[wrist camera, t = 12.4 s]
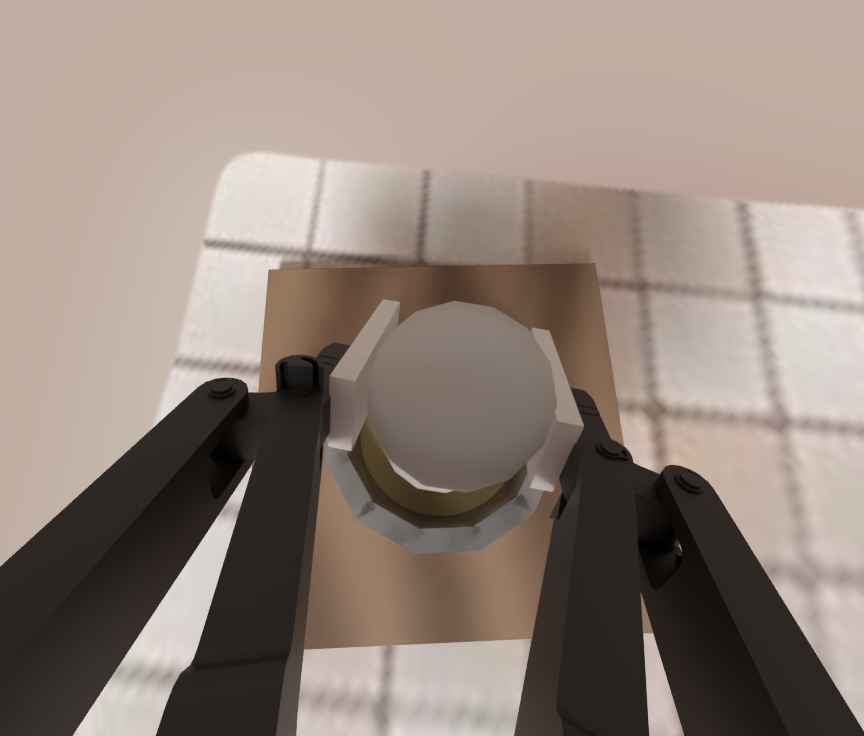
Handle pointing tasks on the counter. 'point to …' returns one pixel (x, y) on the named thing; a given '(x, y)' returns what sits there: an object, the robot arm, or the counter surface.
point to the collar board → (423, 509)
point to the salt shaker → (460, 397)
